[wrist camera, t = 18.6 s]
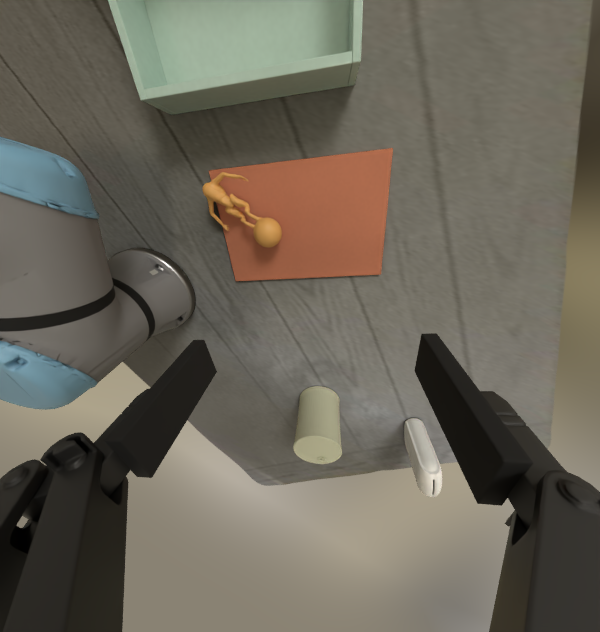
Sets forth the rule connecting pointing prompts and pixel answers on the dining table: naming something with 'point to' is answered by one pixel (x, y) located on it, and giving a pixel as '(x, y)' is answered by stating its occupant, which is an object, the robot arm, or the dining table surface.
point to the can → (318, 426)
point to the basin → (237, 49)
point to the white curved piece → (422, 458)
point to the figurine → (264, 229)
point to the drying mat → (310, 216)
